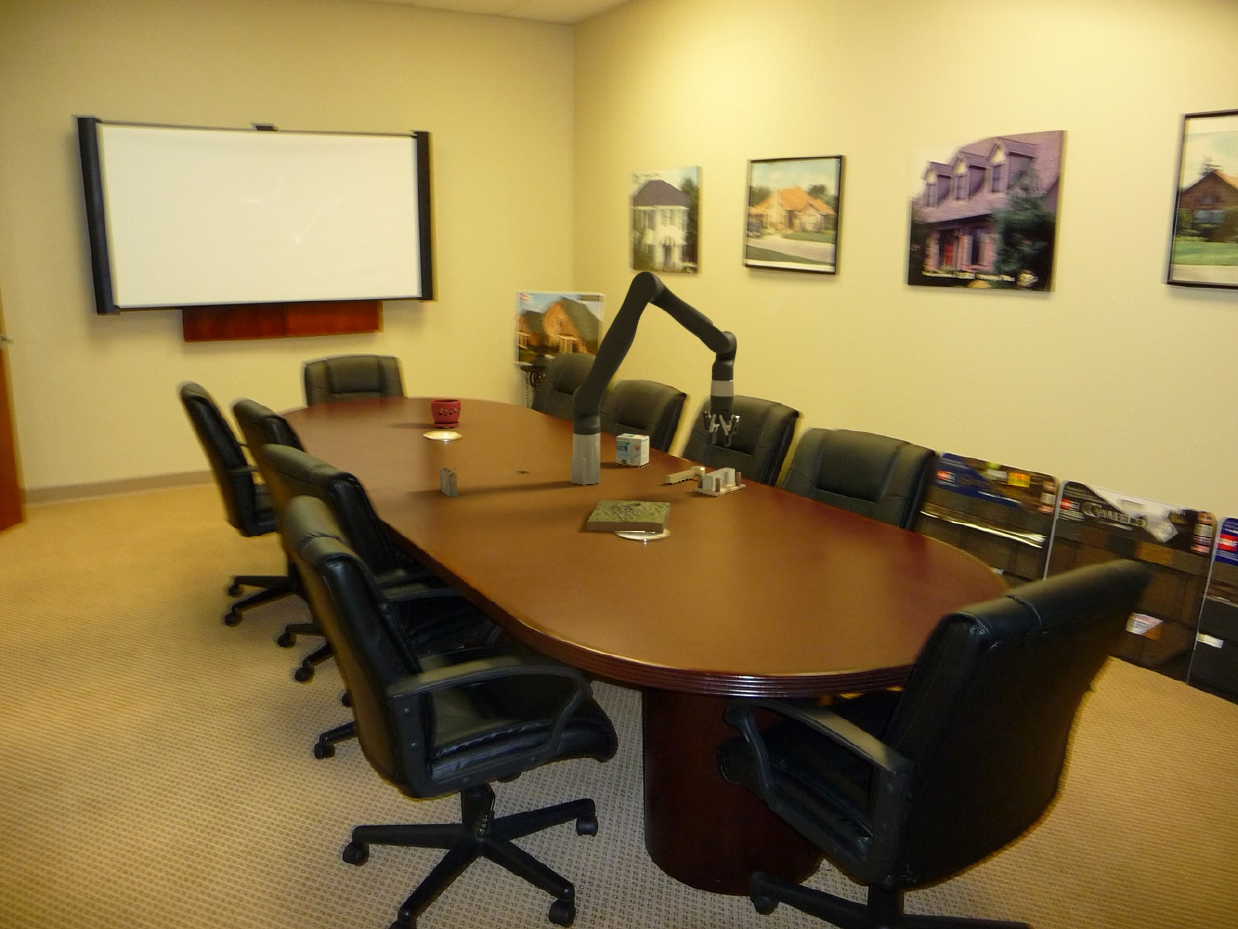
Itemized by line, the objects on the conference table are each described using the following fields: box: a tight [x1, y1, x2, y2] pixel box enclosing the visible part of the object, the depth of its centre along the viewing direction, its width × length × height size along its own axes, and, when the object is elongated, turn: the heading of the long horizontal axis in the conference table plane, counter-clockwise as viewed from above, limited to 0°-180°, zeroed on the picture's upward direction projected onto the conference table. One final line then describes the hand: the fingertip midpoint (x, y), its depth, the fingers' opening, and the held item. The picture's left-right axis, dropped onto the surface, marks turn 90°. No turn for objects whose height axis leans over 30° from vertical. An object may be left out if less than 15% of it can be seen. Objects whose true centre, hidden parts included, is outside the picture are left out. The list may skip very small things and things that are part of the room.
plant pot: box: [430, 398, 462, 429], centre depth 432 cm, size 13×13×12 cm
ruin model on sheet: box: [439, 466, 459, 498], centre depth 316 cm, size 11×3×10 cm, turn 24°
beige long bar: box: [665, 465, 706, 484], centre depth 336 cm, size 18×5×3 cm, turn 137°
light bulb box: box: [615, 433, 650, 466], centre depth 359 cm, size 11×7×11 cm, turn 62°
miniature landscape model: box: [586, 499, 672, 535], centre depth 285 cm, size 22×24×5 cm
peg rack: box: [692, 468, 746, 497], centre depth 322 cm, size 16×10×6 cm, turn 137°
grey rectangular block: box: [703, 467, 736, 491], centre depth 322 cm, size 14×4×5 cm, turn 142°
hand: (720, 444), depth 319 cm, fingers open, 5 cm apart
